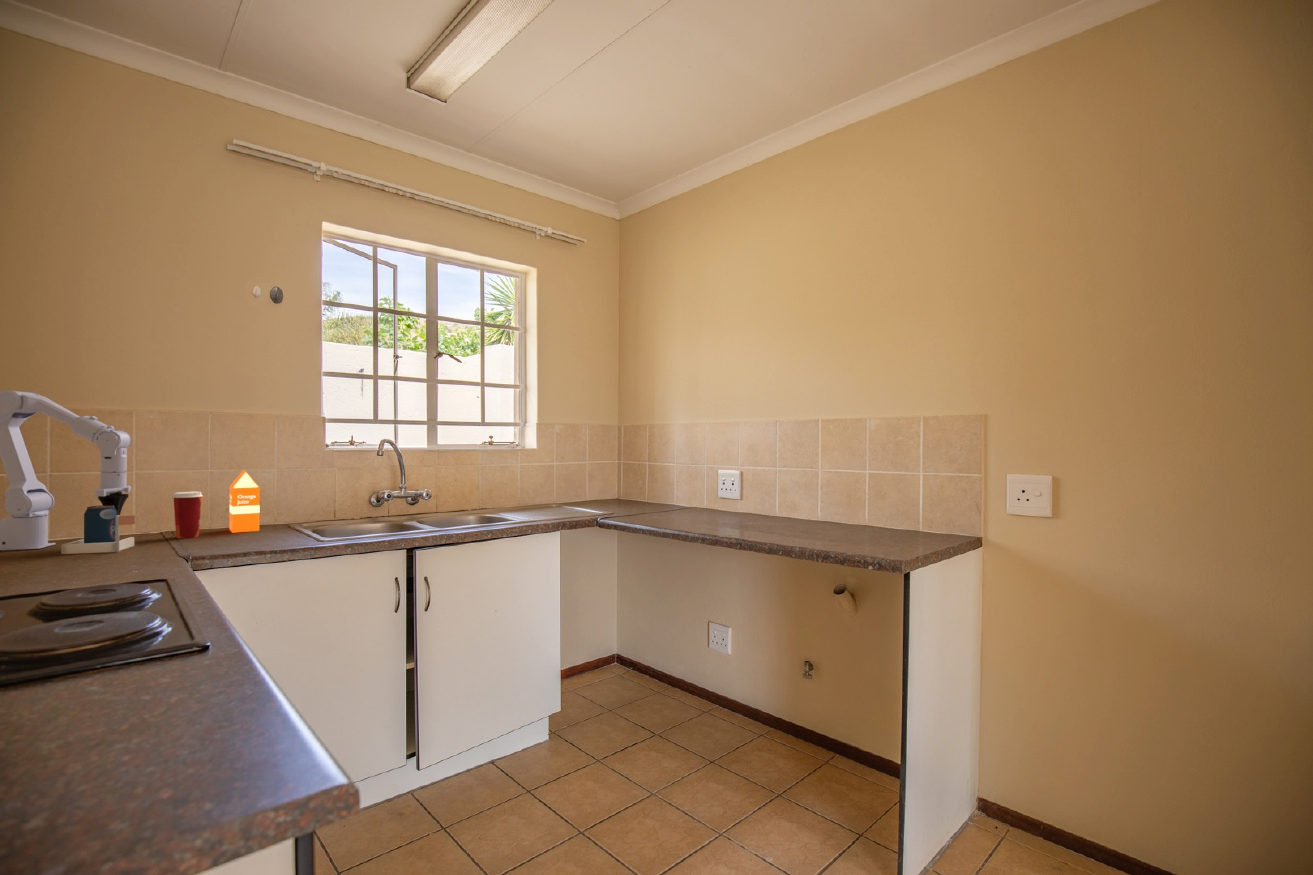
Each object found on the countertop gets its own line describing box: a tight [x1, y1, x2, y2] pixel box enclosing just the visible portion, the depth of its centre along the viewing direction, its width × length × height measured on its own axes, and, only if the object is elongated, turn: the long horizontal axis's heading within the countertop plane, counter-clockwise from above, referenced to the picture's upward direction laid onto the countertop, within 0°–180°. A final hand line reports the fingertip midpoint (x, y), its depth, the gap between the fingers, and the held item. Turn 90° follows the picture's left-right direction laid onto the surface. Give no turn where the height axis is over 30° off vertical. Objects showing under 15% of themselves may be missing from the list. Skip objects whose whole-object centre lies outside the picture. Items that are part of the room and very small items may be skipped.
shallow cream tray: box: [60, 515, 136, 555], centre depth 173 cm, size 17×11×10 cm, turn 107°
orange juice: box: [229, 470, 261, 534], centre depth 211 cm, size 8×9×20 cm
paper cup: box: [172, 491, 204, 540], centre depth 196 cm, size 8×8×14 cm
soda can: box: [83, 505, 117, 543], centre depth 174 cm, size 7×7×12 cm
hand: (113, 519), depth 180 cm, fingers closed
